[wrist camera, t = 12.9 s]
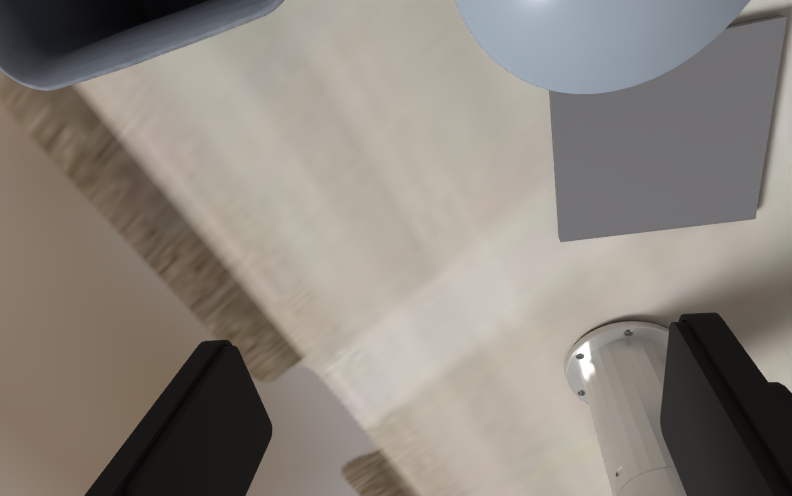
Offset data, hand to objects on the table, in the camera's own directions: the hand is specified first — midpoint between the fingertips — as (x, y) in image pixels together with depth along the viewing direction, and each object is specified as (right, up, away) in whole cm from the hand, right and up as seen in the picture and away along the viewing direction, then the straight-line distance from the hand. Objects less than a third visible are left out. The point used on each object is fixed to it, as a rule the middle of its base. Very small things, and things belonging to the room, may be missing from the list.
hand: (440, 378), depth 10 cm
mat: (+21, +12, +29) cm, 37 cm away
